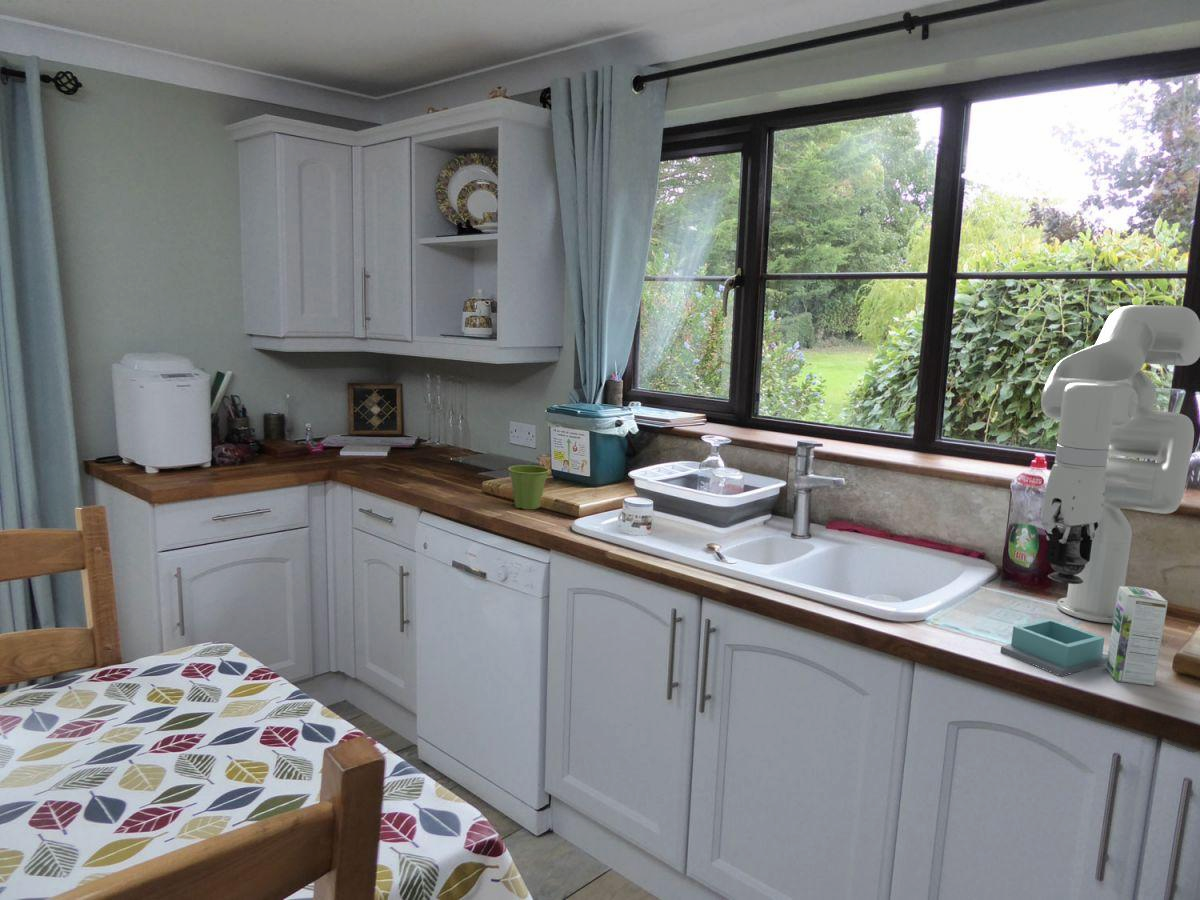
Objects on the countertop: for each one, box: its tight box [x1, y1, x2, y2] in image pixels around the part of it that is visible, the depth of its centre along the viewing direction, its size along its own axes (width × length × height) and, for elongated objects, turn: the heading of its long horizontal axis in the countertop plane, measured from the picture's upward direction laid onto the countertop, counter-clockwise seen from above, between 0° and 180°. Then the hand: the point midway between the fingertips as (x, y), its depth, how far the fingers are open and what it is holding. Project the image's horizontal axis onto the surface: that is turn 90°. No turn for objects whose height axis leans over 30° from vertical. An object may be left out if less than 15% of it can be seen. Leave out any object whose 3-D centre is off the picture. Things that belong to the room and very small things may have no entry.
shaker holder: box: [1000, 618, 1108, 677], centre depth 144 cm, size 14×11×4 cm
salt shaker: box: [1047, 520, 1088, 585], centre depth 141 cm, size 6×6×12 cm
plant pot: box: [507, 464, 551, 511], centre depth 240 cm, size 12×12×11 cm
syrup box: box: [1105, 586, 1169, 687], centre depth 136 cm, size 6×6×14 cm
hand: (1067, 561), depth 142 cm, fingers closed on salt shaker, 5 cm apart
